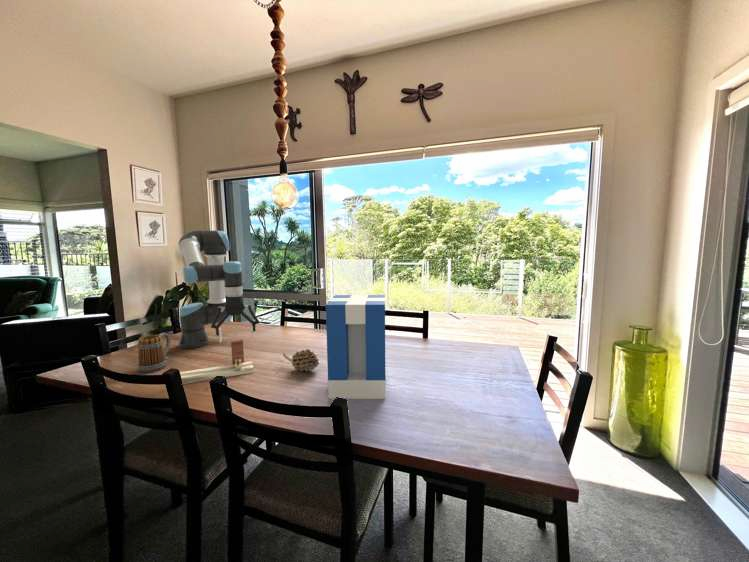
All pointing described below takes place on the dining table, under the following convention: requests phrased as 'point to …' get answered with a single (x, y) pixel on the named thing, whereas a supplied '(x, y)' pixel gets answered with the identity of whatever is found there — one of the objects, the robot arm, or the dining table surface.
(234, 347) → the block
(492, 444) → the dining table surface
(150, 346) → the mug
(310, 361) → the pine cone
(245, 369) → the board
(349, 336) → the toy block
